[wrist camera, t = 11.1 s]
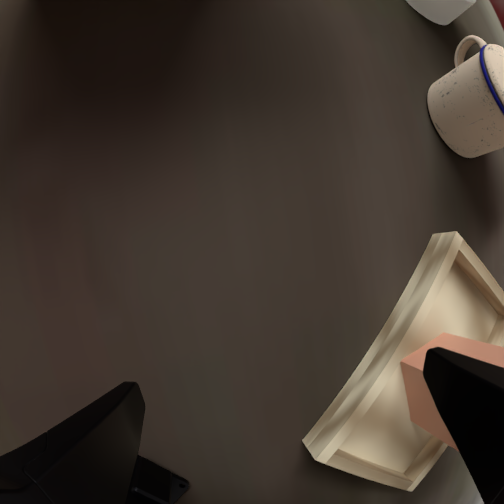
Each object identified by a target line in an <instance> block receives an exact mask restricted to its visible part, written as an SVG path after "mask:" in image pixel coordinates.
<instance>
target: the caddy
mask: <svg viewBox="0 0 504 504" xmlns="http://www.w3.org/2000/svg"><path fill="white" fill-rule="evenodd" d="M434 347H442V348H445V349H448V350H451V351H454V352H457V353H460V354H463V355H466V356H469V357H472V358H475V359H478V360H481V361H484V362H487V363H490V364H493V365H497V366H500V367H503V368H504V347H501V346H497V345H493V344H489V343H484V342H480V341H476V340H472V339H468V338H464V337H460V336H456V335H452V334H448V333H444V332H443V333H442V334H440V335H439V336H437V337H436V338H434V339H433V340H431V341H430V342H428V343H427V344H425V345H424V346H422V347H421V348H419V349H418V350H416V351H415V352H413V353H412V354H410V355H408V356H407V357H405V358H404V359H402V360H401V362H400V364H401V369H402V374H403V379H404V384H405V390H406V395H407V401H408V407H409V413H410V420H411V421H412V422H414V423H415V424H417V425H418V426H420V427H421V428H423V429H424V430H426V431H427V432H429V433H430V434H432V435H433V436H435V437H437V438H438V439H440V440H441V441H443V442H444V443H446V444H447V445H449V446H451V447H452V448H454V449H455V450H457V451H459V450H458V448H457V446H456V444H455V442H454V440H453V439H452V437H451V435H450V433H449V431H448V429H447V427H446V425H445V424H444V422H443V420H442V418H441V416H440V414H439V412H438V410H437V408H436V406H435V403H434V401H433V398H432V396H431V394H430V391H429V389H428V386H427V384H426V382H425V379H424V377H423V367H424V361H425V356H426V352H427V350H428V349H430V348H434Z"/></svg>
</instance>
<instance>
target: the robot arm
mask: <svg viewBox="0 0 504 504" xmlns="http://www.w3.org/2000/svg"><path fill="white" fill-rule="evenodd" d="M423 377H424V379H425V382H426V384H427V386H428V389H429V391H430V394H431V396H432V398H433V401H434V403H435V406H436V408H437V410H438V412H439V414H440V416H441V418H442V420H443V422H444V424H445V425H446V427H447V429H448V431H449V433H450V435H451V437H452V439H453V440H454V442H455V444H456V446H457V448H458V450H459V452H460V454H461V456H462V458H463V460H464V462H465V464H466V466H467V468H468V470H469V472H470V474H471V476H472V478H473V480H474V482H475V484H476V486H477V489H478V491H479V493H480V495H481V497H482V499H483V502H484V504H504V368H503V367H500V366H497V365H493V364H490V363H487V362H484V361H481V360H478V359H475V358H472V357H469V356H466V355H463V354H460V353H457V352H454V351H451V350H448V349H445V348H442V347H434V348H430V349H428V350H427V352H426V356H425V361H424V367H423ZM144 413H145V402H144V399H143V396H142V394H141V391H140V388H139V385H138V384H137V383H136V382H123V383H121V384H120V385H118V386H117V387H115V388H114V389H112V390H111V391H109V392H108V393H106V394H105V395H103V396H102V397H100V398H99V399H97V400H95V401H94V402H92V403H91V404H89V405H88V406H86V407H85V408H83V409H81V410H80V411H78V412H77V413H75V414H74V415H72V416H70V417H69V418H67V419H66V420H64V421H63V422H61V423H59V424H58V425H56V426H55V427H53V428H51V429H50V430H48V431H47V432H45V433H43V434H42V435H40V436H38V437H37V438H35V439H33V440H32V441H30V442H28V443H26V444H25V445H23V446H21V447H19V448H17V449H15V450H13V451H11V452H9V453H6V454H4V455H2V456H0V504H174V503H175V501H176V500H177V499H178V498H179V497H180V496H181V495H182V494H183V493H184V492H185V491H186V490H187V489H188V487H189V483H188V481H187V480H186V479H184V478H181V477H179V476H177V475H175V474H173V473H171V472H170V471H168V470H166V469H164V468H162V467H160V466H158V465H157V464H155V463H153V462H151V461H149V460H147V459H145V458H143V457H141V456H139V455H138V451H139V446H140V440H141V433H142V426H143V420H144ZM180 484H185V485H180Z"/></svg>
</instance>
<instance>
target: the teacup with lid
mask: <svg viewBox="0 0 504 504" xmlns="http://www.w3.org/2000/svg"><path fill="white" fill-rule="evenodd" d="M474 44H478V45H479V47H480V49H481V50H480V52H479V53H477V54H476V55H474V56H473V57H471V58H470V59H468V60H467V61H465V62H464V58H465V55H466V53H467V51H468V49H469V48H470V47H471V46H472V45H474ZM454 63H455V69H453V70H452V71H450V72H449V73H447V74H446V75H444V76H443V77H441V78H440V79H439V80H437V81H436V82H434V83H433V84H432V85H431V87H430V88H429V91H428V96H427V103H428V109H429V113H430V116H431V119H432V122H433V124H434V126H435V128H436V130H437V132H438V133H439V135H440V136H441V138H442V139H443V141H444V142H445V143H446V144H447V145H448V146H449V147H450V148H451V149H452V150H453V151H454V152H456V153H457V154H459V155H461V156H463V157H466V158H475V157H478V156H480V155H483V154H486V153H489V152H492V151H495V150H498V149H500V148H503V147H504V48H503V47H501V46H499V45H495V44H489V45H487V44H486V42H485V41H484V40H482V39H481V38H479V37H477V36H474V35H470V36H467V37H465V38H464V39H463V40H462V41H461V42H460V43H459V45H458V47H457V49H456V52H455V56H454Z"/></svg>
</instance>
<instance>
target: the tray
mask: <svg viewBox="0 0 504 504" xmlns="http://www.w3.org/2000/svg"><path fill="white" fill-rule="evenodd" d="M443 332H444V333H448V334H452V335H456V336H460V337H464V338H468V339H472V340H476V341H480V342H484V343H489V344H493V345H497V346H501V347H504V292H503V290H502V289H501V287H500V286H499V285H498V283H497V282H496V280H495V279H494V278H493V276H492V275H491V274H490V272H489V271H488V270H487V268H486V267H485V266H484V264H483V263H482V262H481V261H480V259H479V258H478V257H477V255H476V254H475V253H474V252H473V250H472V249H471V248H470V247H469V245H468V244H467V243H466V242H465V241H464V239H463V238H462V237H461V236H460V235H459V233H458V232H457V231H455V232H446V233H437V234H433V235H432V237H431V239H430V241H429V243H428V246H427V248H426V250H425V252H424V254H423V256H422V258H421V260H420V262H419V264H418V266H417V268H416V269H415V271H414V273H413V275H412V277H411V279H410V281H409V283H408V285H407V286H406V288H405V290H404V292H403V294H402V295H401V297H400V299H399V301H398V303H397V304H396V306H395V308H394V310H393V311H392V313H391V315H390V316H389V318H388V320H387V321H386V323H385V325H384V326H383V328H382V330H381V331H380V333H379V334H378V336H377V338H376V339H375V341H374V342H373V344H372V346H371V347H370V349H369V350H368V352H367V353H366V355H365V356H364V358H363V359H362V361H361V362H360V364H359V365H358V367H357V368H356V370H355V371H354V373H353V374H352V376H351V377H350V378H349V380H348V381H347V383H346V384H345V385H344V387H343V388H342V390H341V391H340V392H339V394H338V395H337V397H336V398H335V399H334V401H333V402H332V403H331V405H330V406H329V407H328V409H327V410H326V411H325V412H324V414H323V415H322V416H321V418H320V419H319V420H318V421H317V423H316V424H315V425H314V427H313V428H312V429H311V430H310V431H309V433H308V434H307V435H306V436H305V438H304V439H303V440H302V441H303V443H304V444H305V446H306V447H307V449H308V450H309V452H310V453H311V455H312V456H313V458H314V459H315V460H316V461H319V462H321V463H324V464H326V465H329V466H332V467H334V468H337V469H340V470H343V471H345V472H348V473H351V474H354V475H357V476H360V477H363V478H366V479H369V480H372V481H375V482H379V483H382V484H385V485H389V486H392V487H396V488H399V489H403V490H407V491H411V492H412V491H413V490H414V489H415V488H416V486H417V485H418V484H419V483H420V482H421V480H422V479H423V478H424V477H425V475H426V474H427V473H428V472H429V470H430V469H431V468H432V467H433V465H434V464H435V463H436V461H437V460H438V459H439V457H440V456H441V455H442V453H443V452H444V450H445V449H446V448H447V446H448V445H447V444H446V443H444V442H443V441H441V440H440V439H438V438H437V437H435V436H433V435H432V434H430V433H429V432H427V431H426V430H424V429H423V428H421V427H420V426H418V425H417V424H415V423H414V422H412V421H411V420H410V413H409V407H408V401H407V395H406V390H405V384H404V379H403V374H402V369H401V364H400V362H401V360H402V359H404V358H405V357H407V356H408V355H410V354H412V353H413V352H415V351H416V350H418V349H419V348H421V347H422V346H424V345H425V344H427V343H428V342H430V341H431V340H433V339H434V338H436V337H437V336H439V335H440V334H442V333H443Z"/></svg>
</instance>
